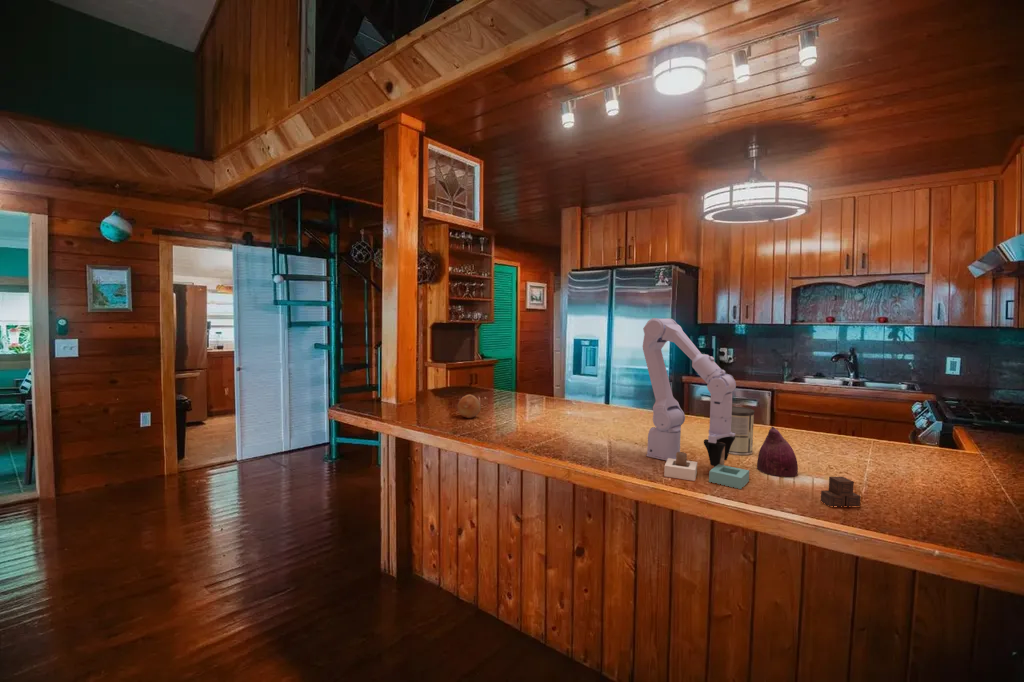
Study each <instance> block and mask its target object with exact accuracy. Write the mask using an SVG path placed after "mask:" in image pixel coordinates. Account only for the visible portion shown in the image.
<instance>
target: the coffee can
mask: <svg viewBox="0 0 1024 682" xmlns="http://www.w3.org/2000/svg"><path fill="white" fill-rule="evenodd" d="M754 414H755V410H754V409H752V408H747V407H742V406H733V405H732V417H731V432H732V433H735V439H734V441H733V443H732V445H731V447H730V450H729V454H730V455H735V456H736V455H737V456H749V455H752V454H753V445H754V444H753V441H754V440H753V439H754V438H753V437H754V422H755V421H754V420H755V419H754V418H755V415H754ZM729 454H728V455H729Z"/></svg>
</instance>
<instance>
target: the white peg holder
mask: <svg viewBox="0 0 1024 682" xmlns="http://www.w3.org/2000/svg"><path fill="white" fill-rule="evenodd" d="M663 472H664V473H663V474H664V476H663V477H664V478H672V479H680V480H685V481H686V480H687V481H691V482H692V481H693V482H695V481H696V477H697V473H698V461H692V460H687V464H686V467H684V466H676V459H672V458H668V459H667V460H666V462H665V464H664V471H663Z"/></svg>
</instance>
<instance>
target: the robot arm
mask: <svg viewBox="0 0 1024 682" xmlns="http://www.w3.org/2000/svg"><path fill="white" fill-rule="evenodd" d="M643 334H644V335H643V341H642V352H643V354H644V355H643V356H644V359H645V363H646V366H647V371H648V375H649V379H650V383H651V387H652V391H653V395H654V399H655V402H654V403H653V406H652V411H653V412H652V413H653V414H652V422H653V425H654V426H653V427H650V429H649V430H648V433H647V434H648V435H647V451H646V452H647V453H646V457H649V458H653V459H658V460H662V461H663V460H664V461H667V459H668V458H672V459H676V453H677V452H681V433H682V432H681V431H682V429H681V428H682V425H683V424H684V423H685V420H686V414H685V412H684V411H683V409H682V408H681V406H680V404H679V401H678V400H677V399H676V398H675V397H674V396H673V391H672V386H671V384H670V379H669V375H668V372H667V368H666V364H665V360H664V359H665V358H664V355H663V352H662V349H663V347H664V346H665V344H666V343H668V342H670V343H674V344H675V345H676V346H677V347H678V348H679V349H680V350H681V351H682V352H683V353H684V354H685V355H686V356H687V357H688V358H689V359H690V360H691V367H692V369H694V371H695V372H696V373H697V374H698V375H699V376H700V378H701V379H702V380H703V381H704V382H705V383H706V384H707V385H706V388H707V390H708V393H710V402H709V403H710V405H709V406H710V407H709V429H708V438H707V439H704V440H703V445H704V446H705V448H706V450H707V455H708V458H709V459H708V460H709V463H710V466H712V467H714V466H717V465H718V464H720V460H721V454H722V451H723V449H724V447H725V458H724V461H727V460H728V458H729V450H730V447H731V445H732V443H733V441H734V439H735V433H732V432H731V417H732V406H733V392H735V390H736V387H737V383H736V380H735V379H734V378H735V377H734V376H733V375H732V374H730V373H729V374H728V373H726V370H724V369H722V368H721V367H720V366H719V365H718V364H717V363H716V362H715V358H714V356H713V355H712V356H710V355H709V354H705V353H703V354H702V352H701V351H700V350H699V349H698V348H697V346H696V344H694V343H693V341H692V340H691V339H690V338H689V336H688V335H687V334H686V333H685V332H684V331H683V328H682V326H681V325H679V324H678V323H677V322H676V321H675V320H674V319H673V318H670V317H667V318H656V317H655V318H654V317H653V318H650V319H649V320H648V321H647V322H646V324H645V325H644V326H643ZM720 442H722V443H720ZM724 443H725V444H724Z"/></svg>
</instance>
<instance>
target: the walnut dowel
mask: <svg viewBox="0 0 1024 682" xmlns="http://www.w3.org/2000/svg"><path fill="white" fill-rule="evenodd" d="M687 457H688V453H687V452H683V451H680V452H677V453H676V466H684V467H686V464H687V461H688V458H687Z"/></svg>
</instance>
